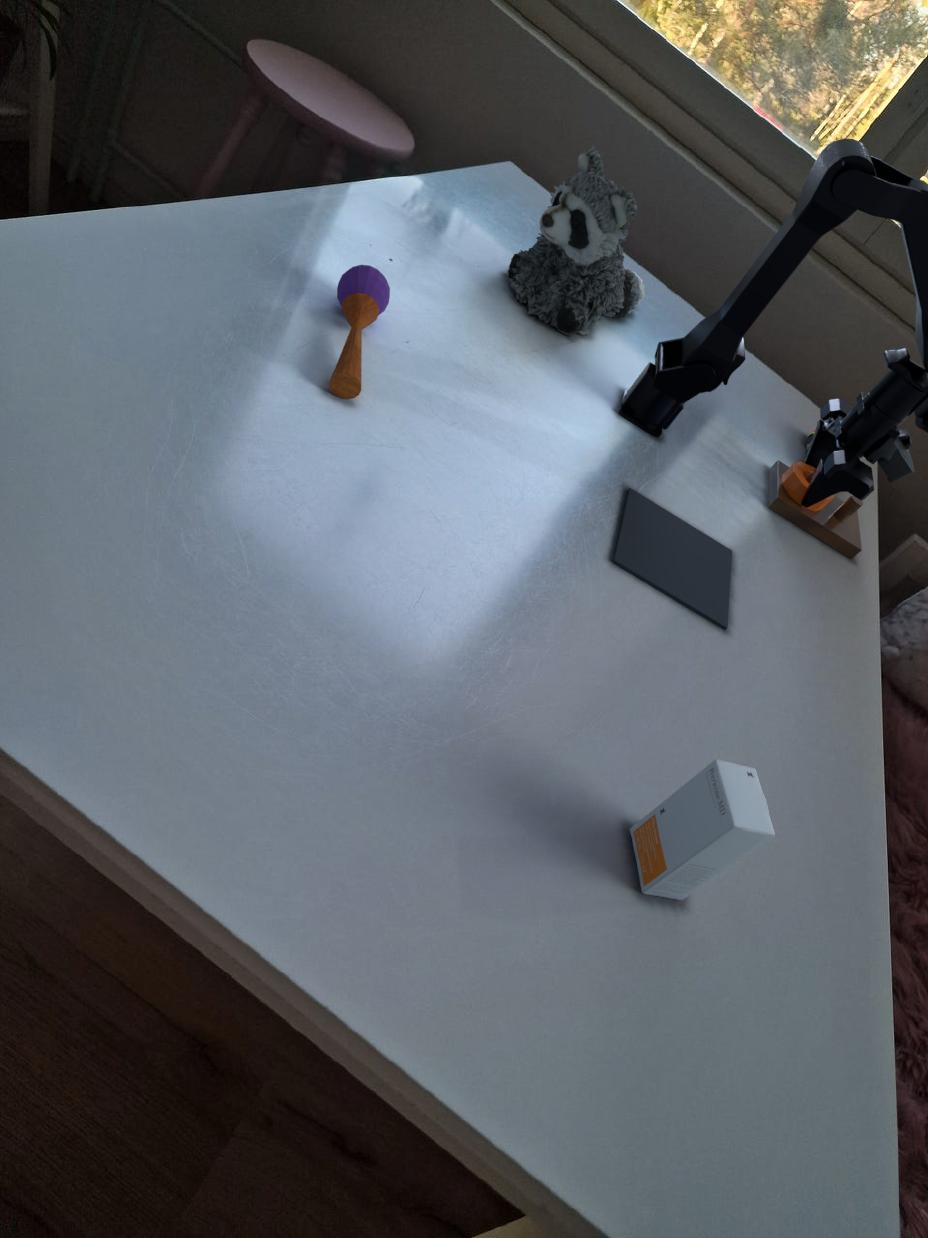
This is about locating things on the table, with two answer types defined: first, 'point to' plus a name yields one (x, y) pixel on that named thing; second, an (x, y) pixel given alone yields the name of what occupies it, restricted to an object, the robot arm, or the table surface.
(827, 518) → the rack
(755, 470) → the table surface
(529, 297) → the raccoon plush
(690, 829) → the cosmetic box
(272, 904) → the table surface
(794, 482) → the disc
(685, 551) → the mat
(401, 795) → the table surface
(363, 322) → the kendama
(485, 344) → the table surface
